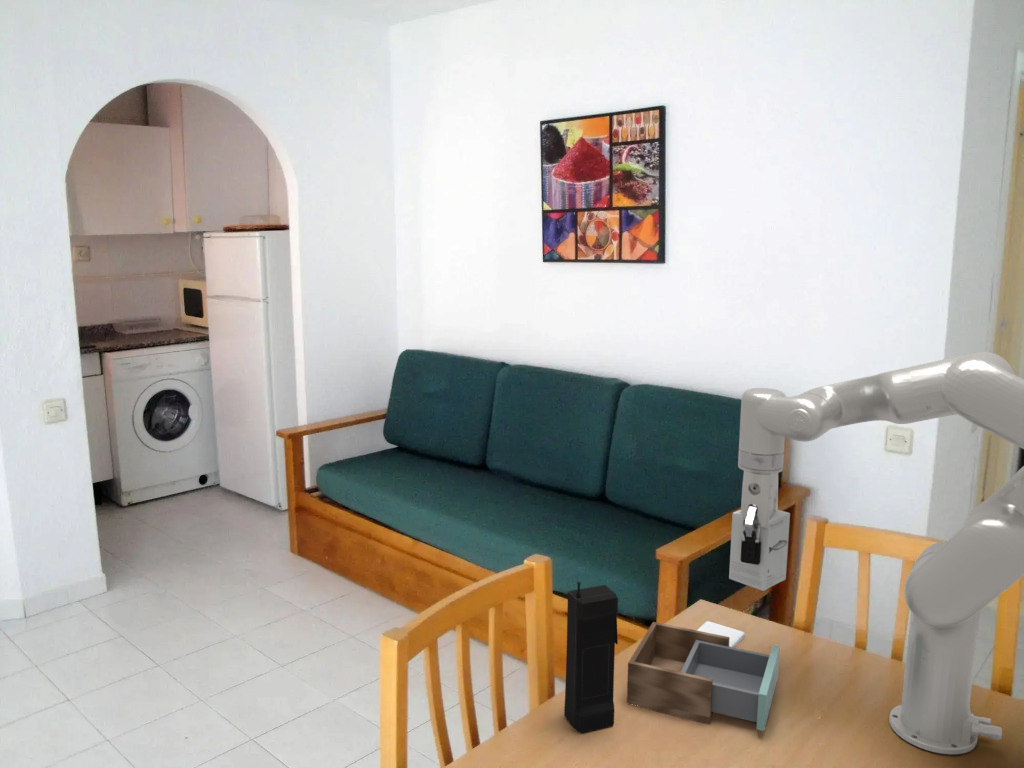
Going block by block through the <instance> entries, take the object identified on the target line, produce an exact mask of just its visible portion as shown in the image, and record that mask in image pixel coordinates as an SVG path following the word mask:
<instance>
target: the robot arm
mask: <svg viewBox="0 0 1024 768" xmlns="http://www.w3.org/2000/svg"><path fill="white" fill-rule="evenodd" d="M740 402H741V405H740V420H739V438H738V440H739V442H738V443H739V444H738V458H737V459H738V461H737V467H738V468H739V470H741V471H743V475H742V476H743V477H742V488H741V506H740V510H741V524H742V525H743V526H744V530H743V536H742V542H741V562H744V563H750V564H755V565H759V563H760V555H761V542H759V541H760V534H761V528H765V529H767V528H768V525H769V521H770V520H771V519H772V517H773V515H774V514H775V512H776V510H779V473H781V472H783V470H784V458H785V444H786V443H785V441H786V438H787V439H789V440H793V441H798V442H804V443H805V442H812V441H815V440H817V439H818V438H820V437H822V436H823V435H824V434H825V433H827V432H828V431H830V430H832V429H836V428H840V427H845V426H851V425H856V424H861V423H867V422H875V421H878V422H879V421H882V422H883V421H886V422H890V423H893V424H896V425H907V424H912V423H918V422H923V421H929V420H933V419H938V418H944V417H945V418H946V417H949V416H956V415H958V416H960V417H962V418H963V419H965V420H967V421H968V422H970V423H972V424H974V425H976V426H977V427H979V428H981V429H983V430H985V431H986V432H988V433H990V434H993V435H994V436H997V437H999V438H1001V439H1003V440H1005V441H1007V442H1009V443H1011V444H1013V445H1015V446H1017V447H1018V448H1021V449H1022V450H1024V378H1022V377H1019V376H1018V375H1016V374H1015V372H1014V370H1013V369H1012V366H1011V365H1010V363H1009V362H1008V361H1007V359H1006V358H1004V357H1002V356H1001V355H999V354H998V353H994V352H989V351H977V352H972V353H965V354H962V355H958V356H953V357H948V358H945V359H944V358H943V359H940V360H935V361H931V362H926V363H922V364H921V363H920V364H917V365H914V366H913V365H912V366H909V367H904V368H899V369H894V370H889V371H885V372H881V373H878V374H873V375H870V376H869V375H868V376H865V377H859V378H855V379H849V380H845V381H841V382H837V383H836V382H835V383H831V384H827V385H822V386H818V387H815V388H812V389H809V390H807V391H804V392H803V393H800V394H798V395H793V396H787V395H786V393H785V392H783V391H782V390H778V389H775V388H768V387H754V388H749V389H746V390H745V391H743V394H742V396H741V401H740ZM755 518H758V520H759V524H754V521H755ZM744 520H745V522H744ZM753 529H757V533H755V531H754V530H753ZM1023 576H1024V465H1023V466H1021V468H1019V470H1018V471H1017V472H1016V473H1014V475H1013V476H1012V477H1011V478H1010V479H1008V481H1006V482H1005V483H1004V484H1003V485H1002V486H1000V487H999V488H998V489H997V490H996V491H995V492H993V494H991V495H990V496H989V497H987V498H986V499H985V500H984V501H983V502H981V503H980V504H978V505H977V506H975V507H974V508H973V509H972V510H971V511H970V513H969V514H968V515H967V517H966V519H965V520H964V523H963V524H962V526H961V528H959V530H957V531H956V533H954V534H953V535H952V536H951V537H949V539H948V540H945V541H944V540H942V541H938V542H935V543H932V544H930V545H928V547H926V548H925V549H924V550H923V551H922V552H921V553H920V554H919V556H918V557H917V559H916V561H915V562H914V564H913V566H912V569H911V570H910V572H909V574H908V576H907V578H906V580H905V583H904V589H903V592H904V598H905V599H904V600H905V603H906V605H907V607H908V609H909V611H910V619H909V629H908V636H907V646H906V655H905V656H906V657H905V663H904V664H905V665H904V675H903V686H902V694H901V696H902V697H901V704H897V706H895V707H893V708H892V709H891V711H890V713H889V719H888V720H889V725H890V727H891V728H892V730H893V732H895V733H896V735H897V736H899V737H900V738H902V739H903V740H904V741H906V742H907V743H909V744H911V745H913V746H915V747H917V748H919V749H922V750H925V751H928V752H932V753H936V754H940V755H962V754H966V753H969V752H972V750H974V749H975V748H976V746H977V742H978V737H979V736H982V737H986V738H989V739H993V740H997V741H1002V738H1003V729H1002V727H1001V726H997V725H992V719H991V718H988V717H984V716H982V717H981V716H978V715H975V713H972V712H971V706H970V703H971V695H972V687H973V686H972V685H973V677H974V671H975V669H974V668H975V662H976V661H975V660H976V654H977V653H976V652H977V646H978V639H979V632H980V622H981V615H982V610H983V609H984V608H986V607H988V605H990V604H991V603H992V602H993V601H995V599H997V598H998V597H999V596H1000V595H1002V594H1003V593H1004V592H1005V591H1007V590H1008V589H1010V587H1012V586H1013V585H1014V584H1016V583H1017V582H1018V581H1019V580H1020V579H1021V578H1022V577H1023Z"/></svg>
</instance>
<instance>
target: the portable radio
mask: <svg viewBox="0 0 1024 768" xmlns="http://www.w3.org/2000/svg"><path fill="white" fill-rule="evenodd" d="M576 584H577V589H573V590H569V591H567V608H566V609H567V611H566V612H567V615H566V618H567V619H566V657H565V658H566V659H565V661H566V662H565V663H566V664H565V686H564V687H565V689H564V690H565V691H564V708H563V709H564V710H563V711H564V712H563V713H564V719H566V720H567V723H568V724H569V725H570V726H571V727H572V728H573V730H575V731H576V732H578V733H579V734H586V733H589V732H593V731H597V730H603V729H607V728H610V727H613V726H614V724H615V703H614V691H615V690H614V687H615V686H614V684H615V683H614V682H615V654H616V653H615V650H616V649H615V646H616V645H618V644H619V642H618V641H619V640H618V616H617V615H618V608H619V598H618V596H617V593H615V592H614V591H613V590H612V589H611V588H610V587H609V586H608V585H605V584H604V585H603V584H602V585H597V586H591V587H586V588H581V584H582V582H581V581H577V582H576Z"/></svg>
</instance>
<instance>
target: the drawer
mask: <svg viewBox="0 0 1024 768" xmlns="http://www.w3.org/2000/svg"><path fill="white" fill-rule="evenodd" d="M780 648H781V647H780V645H776V644H772V646H771V649H770V653H769V654H766V653H761V652H757V651H752V650H747V649H743V648H737V647H734V648H733V647H728V646H724V645H719V644H714V643H709V642H704V641H699V640H696V641H695V643H694V645H693V647H692V649H691V651H690V653H689V656H688V658H687V660H686V662H685V664H684V666H683V668H682V670H681V672H683V673H687V674H692V675H696V676H701V677H705V678H709V679H713V685H712V704H711V711H712V712H714V713H715V714H716V713H717V714H720V715H724V716H729V717H733V718H737V719H742V720H746V721H750V722H753V723H754V722H755V723H756V728H755V729H756V730H759V731H762V732H765V729H766V726H767V721H768V718H769V714H770V710H771V706H772V703H773V698H774V694H775V690H776V685H777V683H778V679H779V678H778V677H779V664H780V662H779V661H780Z"/></svg>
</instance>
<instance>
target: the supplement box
mask: <svg viewBox="0 0 1024 768" xmlns="http://www.w3.org/2000/svg"><path fill="white" fill-rule="evenodd" d="M731 517H732V519H731V533H730V536H731V537H730V555H729V570H728V571H729V572H728V573H729V574H728V579H729V580H732V581H734V582H738V583H741V584H743V585H745V586H748V587H751V588H754V589H757V590H760V591H762V592H764V591H767V590H768V589H770V588H771V587H773V586H775V585H778V584H779V583H781V582H784V581H785V580H786V579H787V566H788V554H789V553H788V552H789V534H790V522H791V521H790V520H791V519H790V517H791V513H790V512H787V511H784V510H780V509H778V510H776V512H775V514H774V515H773V517H772V519H771V520H770V521H769V525H768V528H767V529H765V528H761V534H760V541H759V542H761V555H760V563H759V565H755V564H750V563H744V562H741V542H742V536H743V530H744V526H743V525H742V524H741V509H738V510H736V511H734V512H732V515H731ZM744 522H745V520H744ZM754 524H759V520H758V518H755V521H754ZM753 530H754V531H755V533H757V529H753Z"/></svg>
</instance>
